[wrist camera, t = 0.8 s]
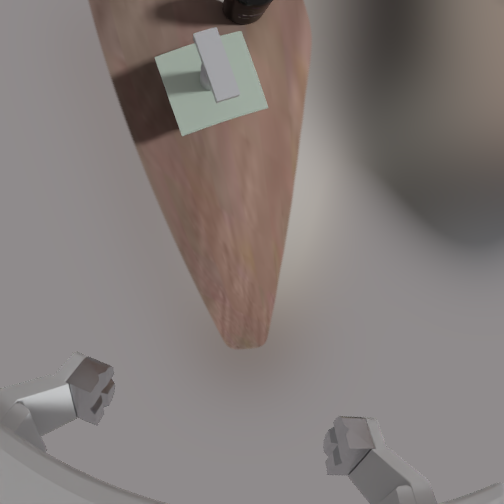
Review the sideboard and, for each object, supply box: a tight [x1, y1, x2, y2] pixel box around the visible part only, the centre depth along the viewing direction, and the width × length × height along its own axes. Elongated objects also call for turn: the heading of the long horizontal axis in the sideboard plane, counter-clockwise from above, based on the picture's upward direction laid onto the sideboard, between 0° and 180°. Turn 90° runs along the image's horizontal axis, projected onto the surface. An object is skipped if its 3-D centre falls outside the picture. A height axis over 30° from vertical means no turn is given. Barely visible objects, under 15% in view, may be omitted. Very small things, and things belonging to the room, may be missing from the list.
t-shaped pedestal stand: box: [154, 27, 268, 136], centre depth 30 cm, size 12×12×13 cm
